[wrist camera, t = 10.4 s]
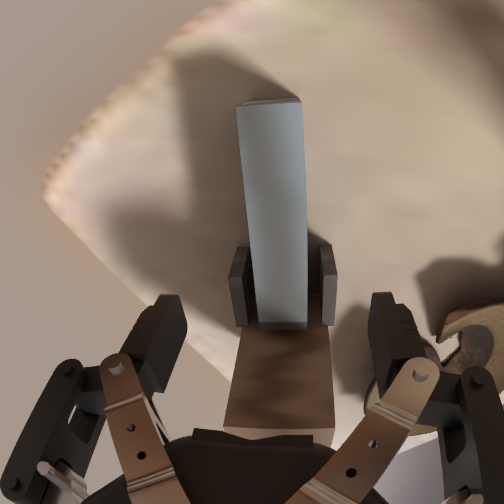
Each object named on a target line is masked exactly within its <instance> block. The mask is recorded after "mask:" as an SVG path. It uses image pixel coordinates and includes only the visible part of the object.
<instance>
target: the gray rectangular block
mask: <svg viewBox="0 0 504 504" xmlns="http://www.w3.org/2000/svg"><path fill="white" fill-rule="evenodd" d="M235 109H236V119H237V128H238V137H239V146H240V155H241V165H242V174H243V183H244V192H245V201H246V210H247V220H248V229H249V238H250V247H251V256H252V265H253V274H254V284H255V293H256V302H257V311H258V320H259V329H260V330H307V287H308V261H307V202H306V173H305V150H304V131H303V115H302V102H301V101H300V99H299V97H298V98H276V99H261V100H248V101H246V102H244V103H242V104H240V105H238V106H236V107H235Z"/></svg>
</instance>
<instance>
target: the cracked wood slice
mask: <svg viewBox="0 0 504 504" xmlns="http://www.w3.org/2000/svg"><path fill="white" fill-rule="evenodd" d="M459 331H460V339H459V340H460V348H459V350H458V351H457V352H456V353H454V355H453V356H452V357H451V358H450V359H449V360H448V361H447V363H446V364H444V365H441V363H440V359H439V357H438V354H437V351H436V350H435V348H433V347H432V346H431V345H427V344H423V346H424V349H425V352H426V355H427V358H428V359H429V360H431V361H433V362H434V363H435V364H436V365H437V367H438V369H439V370H440V371H443V372H447V373H454V374H462V372H463V371H464V370H465V369H466V368H468V367H470V366H480V367H483V368H485V369H487V370H488V371H489V372H490V373H491V375H492V376H493V379H494V382H495V385H496V388H497V391H498V394H500V393H501V392H502V391H503V390H504V299H497V298H495V299H487V300H483V301H479V302H475V303H473V304H469V305H467V306H464V307H462V308H459V309H457V310H455V311H453V312H451V313H450V314H448V315H447V316H446V317H445V318H444V319H443V322H442V324H441V325H440V327H439V332H438V333H437V334H436V335H437V337H436V343H438V344H440V343H442V342H444V341H445V340H447V339H448V338H449V337H450V338H452V337H451V336H453V335H454V334H456V333H457V332H459ZM380 400H381V399H379V393H378V387H377V381H376V375H375V376H374V378H373V379H372V381H371V384H370V385H369V387H368V389H367V392H366V396H365V400H364V414H365V415H366V414H367V413H368V411H369V410H370V409H371V407H372V406H373V405H374V404H375V403H379V401H380ZM434 431H437V427H432V426H426V425H419V424H415V425H414V427H413V429H412V430H411V432H410V434H409V435H408V436H415V435H421V434H427V433H431V432H434Z"/></svg>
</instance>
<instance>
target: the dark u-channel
mask: <svg viewBox="0 0 504 504" xmlns="http://www.w3.org/2000/svg"><path fill="white" fill-rule="evenodd" d="M337 277H338V275H337V270H336V264H335V259H334V255H333V250H332V245H320V265H319V293H307V330H260V329H259V320H258V311H257V302H256V294H254V288H253V279H252V271H251V262H250V254H249V247H240V248H237V250H236V253H235V256H234V260H233V263H232V266H231V270H230V273H229V276H228V280H229V286H230V292H231V298H232V304H233V309H234V315H235V321H236V327H242V332H241V337H240V343H239V348H238V353H237V358H236V363H235V368H234V373H233V378H232V384H231V389H230V394H229V399H228V404H227V409H226V414H225V419H224V424H223V428H224V430H225V432H226V433H229V434H233V435H236V436H239V437H242V438H245V439H249V440H256V439H262V438H268V437H273V436H279V435H313V442H314V443H319V444H322V445H325V446H327V447H330V448H331V444H332V440H333V436H334V431H335V412H334V395H333V380H332V367H331V355H330V343H329V333H328V326H334V319H335V306H336V292H337Z"/></svg>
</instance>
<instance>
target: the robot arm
mask: <svg viewBox="0 0 504 504" xmlns="http://www.w3.org/2000/svg"><path fill="white" fill-rule="evenodd" d="M186 334H187V321H186V318H185V314H184V311H183V307H182V304H181V301H180V298H179V296H178V295H171V294H161V295H160V296H159V297H158V299H157V300H156V302H155V304H154V306H151V305H150V306H149V307H147V309H145V310H144V311H143V312H142V313H141V314H140V316H139V318H138V319H137V323H135V325H134V326H133V330H131V332H130V333H129V335H128V337H127V339H126V341H125V342H124V344H123V346H122V348H121V350H120V351H119V353H115V354H112V355H110V356H108V357H106V358H105V359H104V360H103V361H102V363H101V364H100V366H93V367H83V365H82V364H81V362H80V361H79V360H77V359H68V360H65V361H63V362H62V363H60V364H59V365H58V366H57V368H56V369H55V371H54V372H53V374H52V376H51V378H50V380H49V381H48V383H47V385H46V387H45V389H44V390H43V392H42V394H41V396H40V398H39V399H38V401H37V403H36V405H35V407H34V409H33V411H32V413H31V415H30V417H29V419H28V421H27V423H26V425H25V427H24V429H23V431H22V433H21V435H20V437H19V439H18V441H17V443H16V445H15V447H14V450H13V452H12V454H11V456H10V458H9V460H8V463H7V465H6V467H5V470H4V472H3V474H2V477H1V480H0V488H1V491H2V493H3V495H4V496H5V497H6V498H7V499H9V500H10V501H12V502H14V503H15V504H389V503H388V502H387V501H386V500H385V499H384V498H383V497H382V496H381V495H380V494H379V493H378V492H377V491H376V490H375V489H374V488H373V487H374V486H375V484H376V483H377V482H378V480H379V479H380V477H381V476H382V475H383V473H384V472H385V470H386V469H387V468H388V466H389V465H390V463H391V462H392V460H393V459H394V457H395V456H396V454H397V453H398V451H399V450H400V448H401V447H402V445H403V443H404V442H405V440H406V439H407V437H408V435H409V434H410V432H411V430H412V429H413V427H414V425H415V424H419V425H426V426H432V427H437V432H438V438H439V446H440V453H441V462H442V471H443V481H444V495H445V501H444V502H442V503H441V504H504V410H503V407H502V403H501V400H500V397H499V394H498V391H497V388H496V385H495V382H494V379H493V376H492V375H491V373H490V372H489V371H488V370H487V369H485V368H483V367H480V366H470V367H468V368H466V369H465V370H464V371H463V372H462V374H454V373H447V372H443V371H440V370H439V369H438V367H437V365H436V364H435V363H434V362H433V361H431V360H429V359H428V358H427V355H426V352H425V349H424V346H423V343H422V340H421V337H420V334H419V332H418V331H417V326H416V323H415V321H414V318H413V315H412V312H411V311H410V310H409V309H408V308H407V307H406V306H405V305H404V304H395V301H394V298H393V295H392V293H391V292H374V293H373V294H372V299H371V306H370V313H369V319H368V336H369V341H370V347H371V352H372V357H373V363H374V369H375V375H376V381H377V387H378V393H379V399H381V400H380V401H379V403H375V404H374V405H373V406H372V407H371V409H370V410H369V411H368V413H367V414H366V415H365V417H364V418H363V419H362V421H361V422H360V423H359V424H358V426H357V427H356V428H355V430H354V431H353V432H352V433H351V435H350V436H349V437H348V438H347V440H346V441H345V442H344V443H343V444H342V446H341V447H340V448H339V449H338V450H337V451H335V450H334V449H332V448H330V447H327V446H325V445H322V444H319V443H314V442H313V435H279V436H273V437H268V438H262V439H256V440H249V439H245V438H242V437H239V436H236V435H233V434H229V433H226V432H223V431H217V430H207V429H198V428H194V430H193V434H192V436H186V437H182V438H178V439H176V440H173V441H172V440H171V438H170V436H169V434H168V433H167V431H166V428H165V426H164V424H163V422H162V419H161V417H160V415H159V413H158V410H157V408H156V406H155V404H154V401H153V399H152V396H153V393H154V392H159V393H164V391H165V389H166V386H167V383H168V381H169V378H170V376H171V373H172V371H173V368H174V365H175V363H176V360H177V358H178V355H179V353H180V350H181V347H182V345H183V342H184V340H185V337H186ZM74 406H76V410H75V412H74V414H73V416H72V419H71V420H70V423H69V425H68V419H69V417H70V414H71V412H72V410H73V408H74ZM106 419H107V422H108V426H109V429H110V433H111V436H112V440H113V443H114V446H115V449H116V452H117V455H118V458H119V461H120V464H121V467H122V470H123V473H124V474H122V475H121V476H119V477H118V478H116V479H115V480H113V481H112V482H110V483H109V484H107V485H106V486H104V487H103V488H101V489H100V490H98V491H97V492H95V493H93V494H92V495H90V496H88V493H87V486H86V482H85V481H84V477H85V474H86V471H87V468H88V466H89V463H90V460H91V457H92V454H93V452H94V449H95V446H96V444H97V441H98V438H99V436H100V433H101V430H102V428H103V425H104V423H105V420H106Z"/></svg>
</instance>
